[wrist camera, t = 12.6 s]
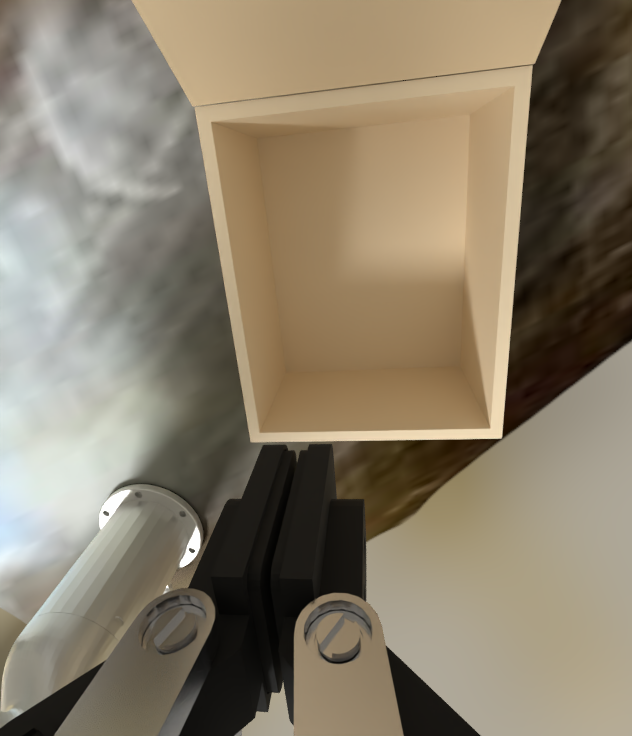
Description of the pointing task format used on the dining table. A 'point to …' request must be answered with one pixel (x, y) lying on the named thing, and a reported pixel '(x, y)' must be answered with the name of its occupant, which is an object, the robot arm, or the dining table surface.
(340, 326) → the carton
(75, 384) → the dining table surface
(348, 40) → the lid flap
